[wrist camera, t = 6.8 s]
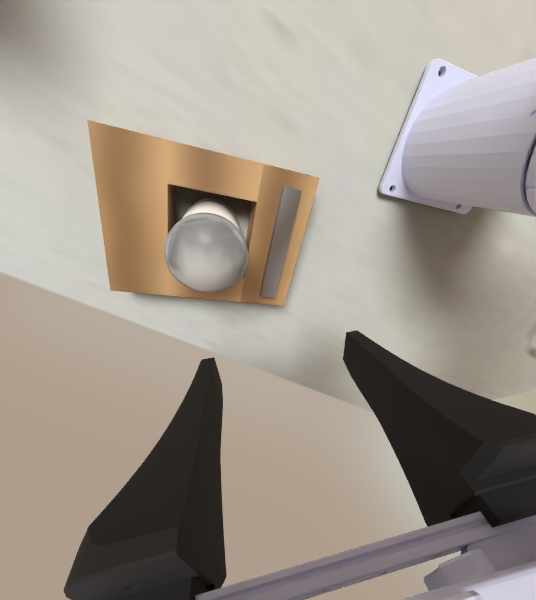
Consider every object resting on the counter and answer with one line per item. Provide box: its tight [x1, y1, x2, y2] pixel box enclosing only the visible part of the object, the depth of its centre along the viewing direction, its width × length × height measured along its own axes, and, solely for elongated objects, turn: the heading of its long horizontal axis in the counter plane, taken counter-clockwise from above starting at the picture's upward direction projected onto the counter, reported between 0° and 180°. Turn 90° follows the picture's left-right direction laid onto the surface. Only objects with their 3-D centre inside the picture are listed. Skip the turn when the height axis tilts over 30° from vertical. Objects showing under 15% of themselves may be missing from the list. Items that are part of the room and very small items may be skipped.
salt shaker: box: [164, 198, 248, 293], centre depth 15 cm, size 4×4×7 cm
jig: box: [88, 120, 320, 306], centre depth 16 cm, size 13×10×3 cm
